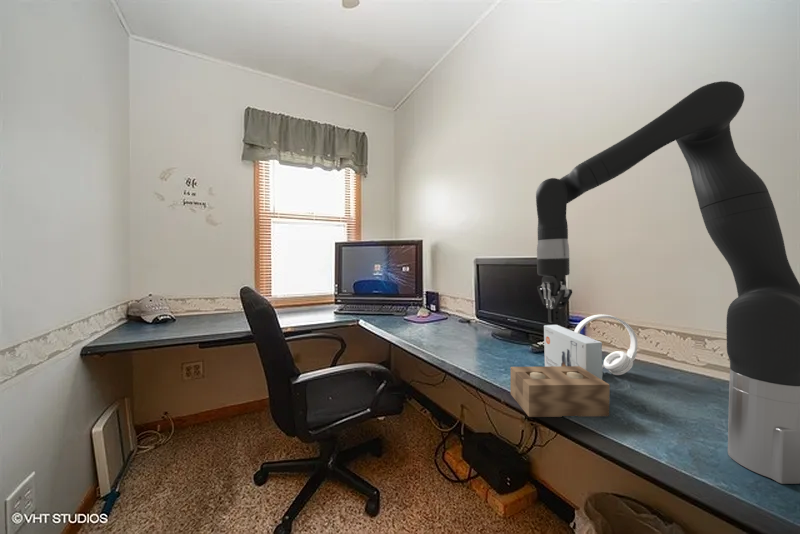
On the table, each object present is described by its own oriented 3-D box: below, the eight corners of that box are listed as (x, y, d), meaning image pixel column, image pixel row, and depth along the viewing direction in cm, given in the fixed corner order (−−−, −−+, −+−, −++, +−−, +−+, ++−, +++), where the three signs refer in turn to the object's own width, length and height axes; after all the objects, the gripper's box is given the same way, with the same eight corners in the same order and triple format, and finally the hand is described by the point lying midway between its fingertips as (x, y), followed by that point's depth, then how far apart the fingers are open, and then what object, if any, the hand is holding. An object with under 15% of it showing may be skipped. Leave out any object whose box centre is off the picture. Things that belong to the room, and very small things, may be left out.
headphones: (642, 380, 91) (643, 318, 91) (578, 376, 95) (578, 316, 94) (627, 370, 99) (628, 313, 98) (569, 367, 103) (569, 312, 102)
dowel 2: (586, 407, 75) (586, 377, 75) (571, 407, 75) (571, 377, 75) (577, 400, 79) (577, 371, 79) (563, 400, 79) (563, 372, 79)
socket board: (579, 393, 83) (579, 366, 83) (609, 416, 71) (609, 384, 71) (510, 393, 83) (510, 366, 83) (528, 416, 71) (529, 385, 71)
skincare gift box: (542, 369, 101) (543, 324, 101) (557, 368, 102) (557, 324, 101) (585, 398, 80) (586, 342, 80) (603, 397, 81) (604, 341, 80)
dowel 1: (548, 407, 75) (548, 378, 75) (533, 407, 75) (533, 378, 75) (541, 400, 79) (541, 372, 79) (527, 400, 79) (527, 372, 79)
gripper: (583, 256, 68) (584, 328, 69) (552, 257, 82) (553, 317, 82) (552, 257, 68) (553, 329, 69) (527, 258, 82) (528, 318, 82)
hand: (553, 322), depth 75 cm, fingers closed
